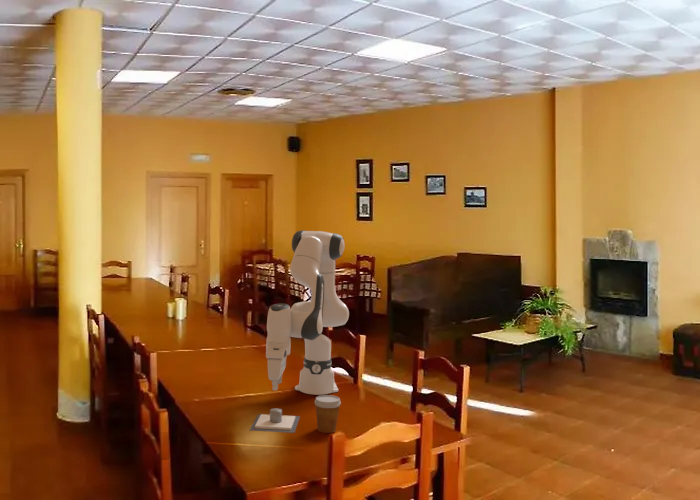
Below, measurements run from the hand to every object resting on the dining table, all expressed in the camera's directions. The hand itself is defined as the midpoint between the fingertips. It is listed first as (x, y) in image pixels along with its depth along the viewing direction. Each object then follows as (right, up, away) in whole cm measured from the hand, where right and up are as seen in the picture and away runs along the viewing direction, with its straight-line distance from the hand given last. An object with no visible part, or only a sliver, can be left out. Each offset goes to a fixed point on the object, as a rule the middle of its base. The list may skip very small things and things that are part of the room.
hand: (277, 386), depth 243 cm
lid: (-1, -14, +1) cm, 14 cm away
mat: (-1, -14, +1) cm, 14 cm away
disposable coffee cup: (+18, -16, -3) cm, 24 cm away
